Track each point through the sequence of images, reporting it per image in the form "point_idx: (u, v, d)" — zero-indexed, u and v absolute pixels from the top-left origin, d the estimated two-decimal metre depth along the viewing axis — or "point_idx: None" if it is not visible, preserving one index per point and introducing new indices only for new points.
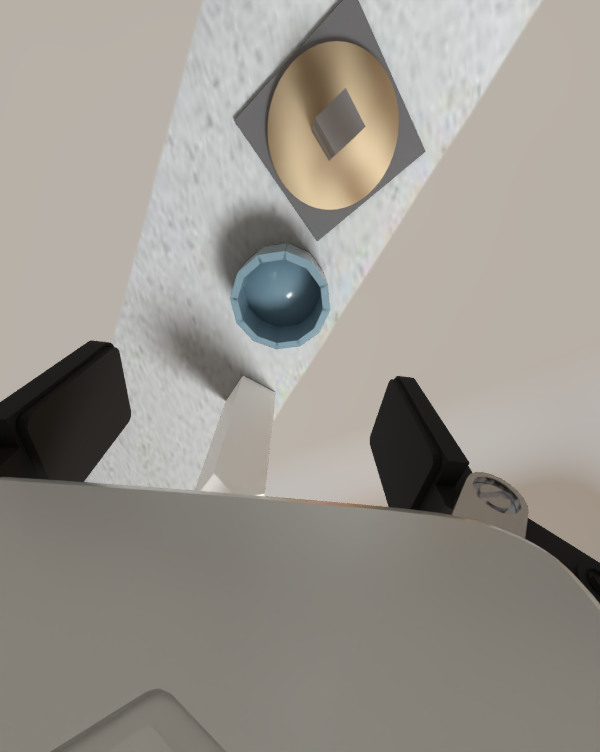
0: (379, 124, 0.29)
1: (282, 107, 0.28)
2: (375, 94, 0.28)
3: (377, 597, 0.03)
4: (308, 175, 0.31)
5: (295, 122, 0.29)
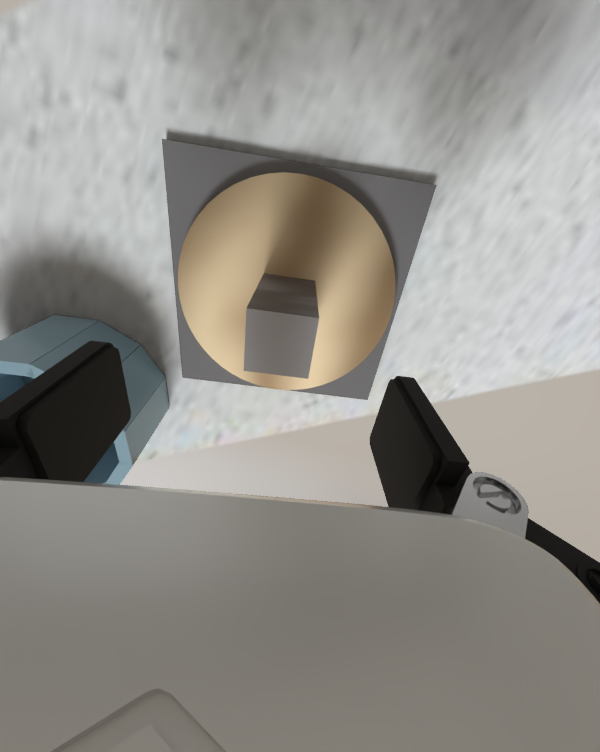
0: (345, 342, 0.19)
1: (246, 208, 0.15)
2: (365, 312, 0.18)
3: (376, 598, 0.03)
4: (220, 311, 0.18)
5: (250, 242, 0.16)
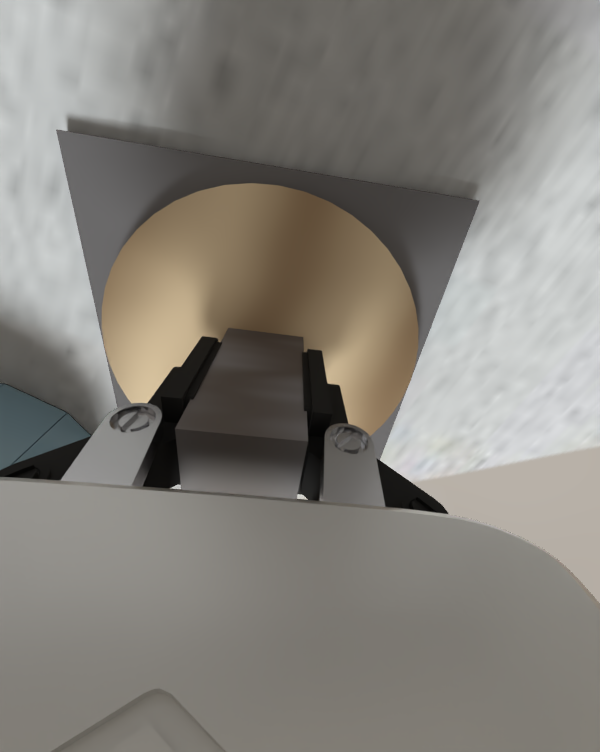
0: (346, 414, 0.14)
1: (196, 237, 0.10)
2: (374, 377, 0.13)
3: (378, 599, 0.03)
4: None
5: (205, 286, 0.11)
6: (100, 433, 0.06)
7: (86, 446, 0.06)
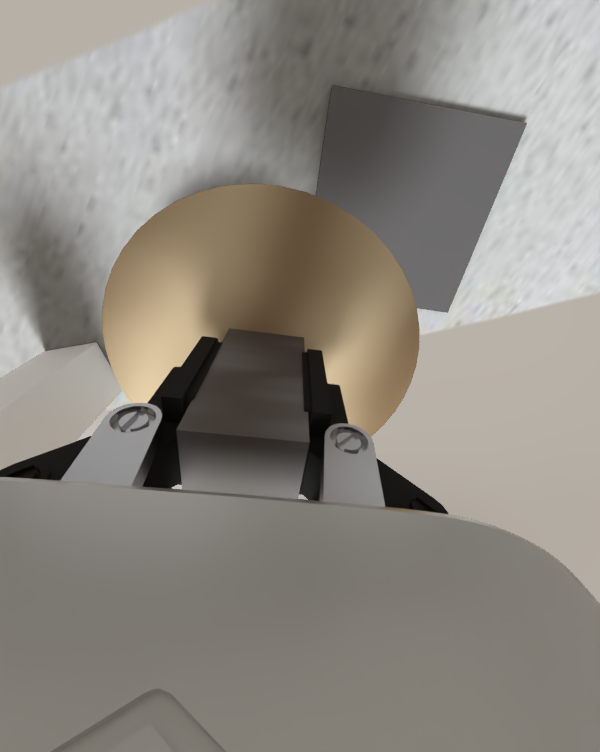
0: (347, 414, 0.14)
1: (196, 237, 0.10)
2: (375, 377, 0.13)
3: (377, 599, 0.03)
4: None
5: (206, 286, 0.11)
6: (100, 433, 0.06)
7: (86, 446, 0.06)
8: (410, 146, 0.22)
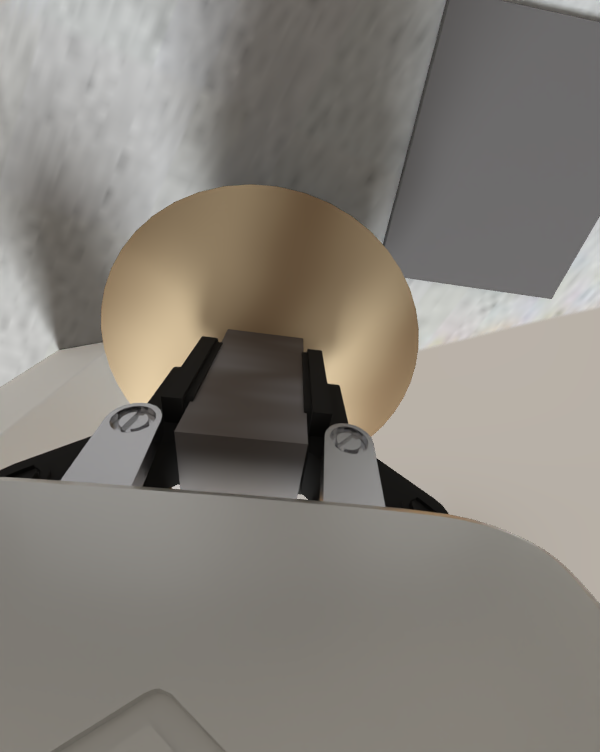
0: None
1: (195, 238, 0.10)
2: (374, 378, 0.13)
3: (377, 597, 0.03)
4: None
5: (205, 287, 0.11)
6: (100, 433, 0.06)
7: (86, 446, 0.06)
8: (542, 78, 0.17)
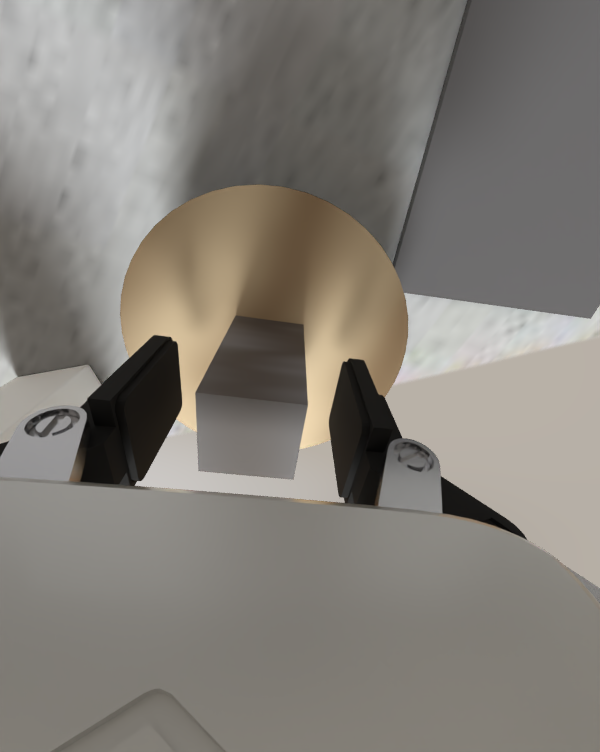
0: None
1: (208, 232, 0.11)
2: (368, 362, 0.14)
3: (377, 598, 0.03)
4: (181, 361, 0.14)
5: (215, 277, 0.12)
6: (16, 442, 0.06)
7: (2, 458, 0.05)
8: (597, 52, 0.13)
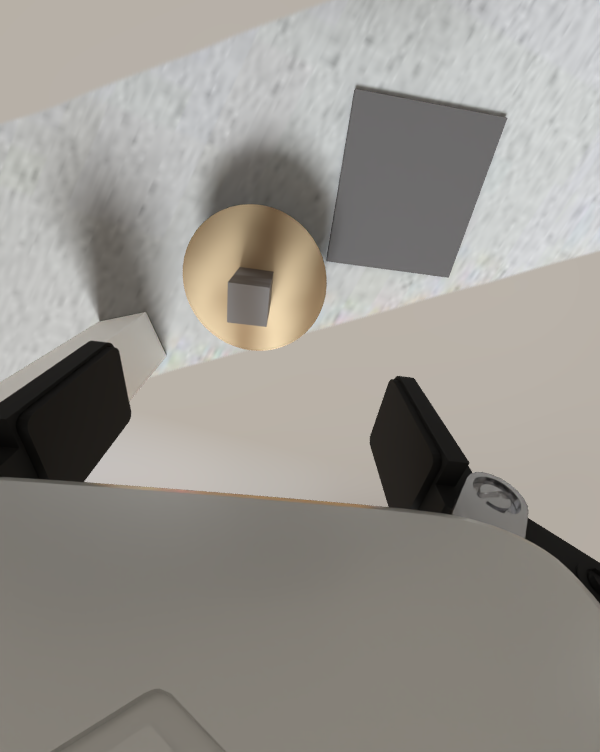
0: (296, 314, 0.29)
1: (227, 225, 0.25)
2: (308, 292, 0.28)
3: (377, 598, 0.03)
4: (211, 293, 0.27)
5: (230, 247, 0.25)
6: None
7: None
8: (416, 137, 0.27)
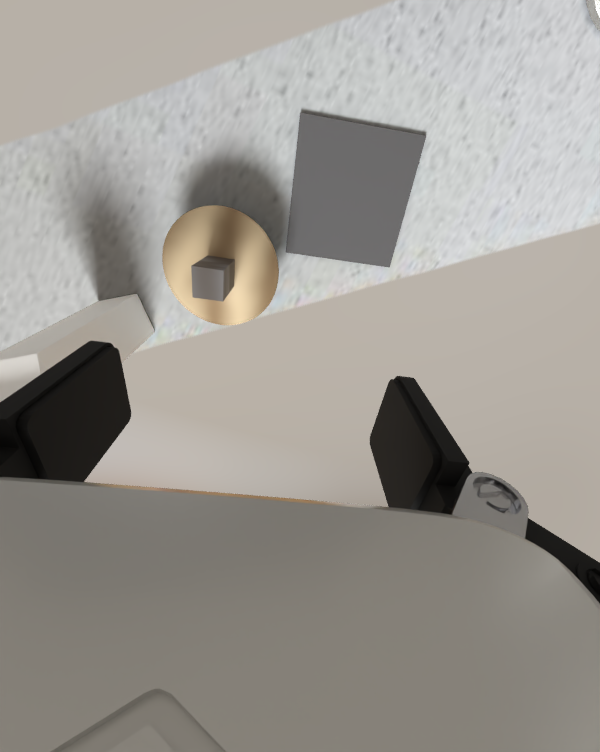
0: (255, 294, 0.35)
1: (196, 222, 0.31)
2: (263, 277, 0.34)
3: (376, 598, 0.03)
4: (186, 276, 0.34)
5: (199, 239, 0.32)
6: None
7: None
8: (353, 150, 0.33)
